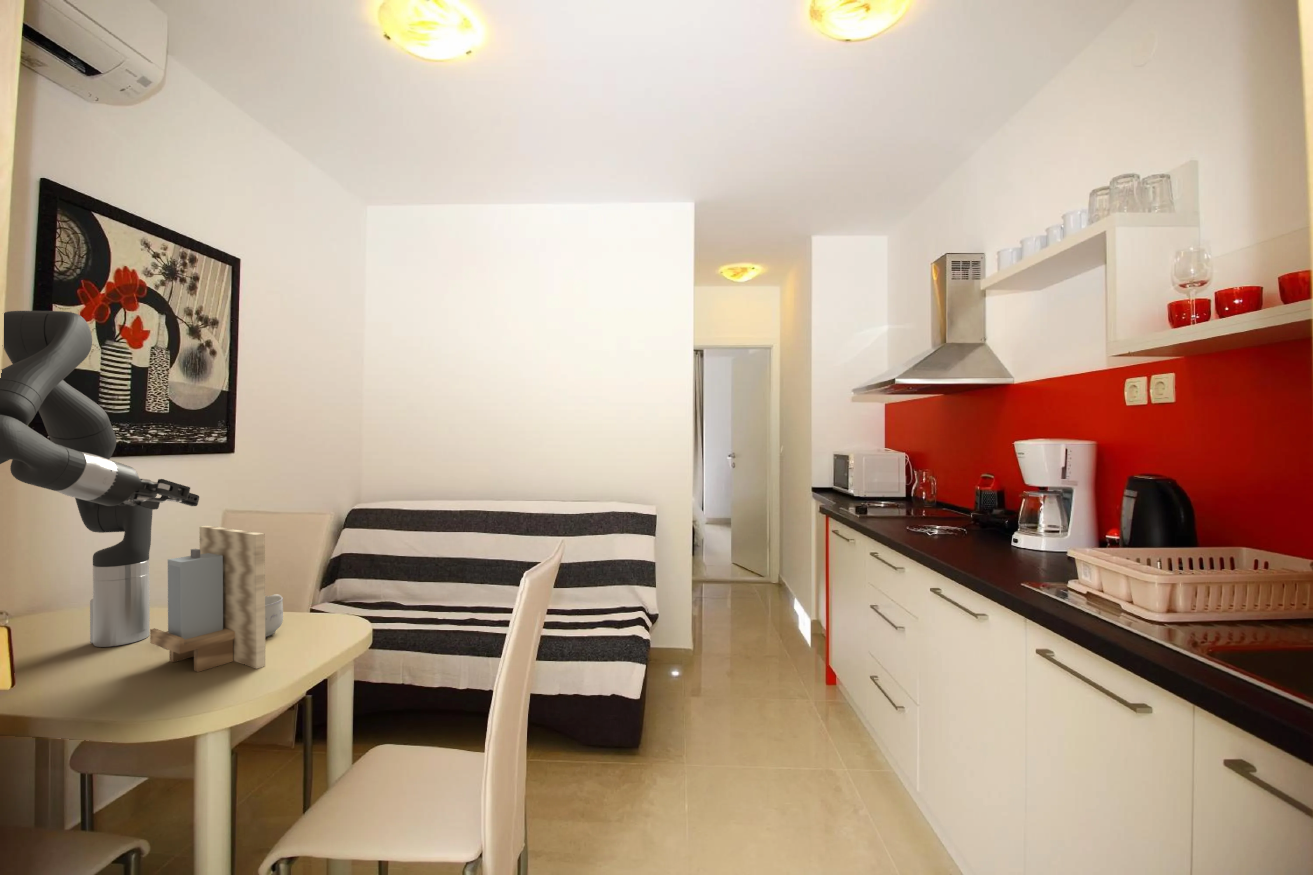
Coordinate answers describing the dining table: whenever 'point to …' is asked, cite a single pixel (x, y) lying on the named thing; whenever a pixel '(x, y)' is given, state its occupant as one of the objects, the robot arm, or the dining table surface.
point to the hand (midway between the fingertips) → (177, 502)
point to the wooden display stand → (229, 604)
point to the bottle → (195, 594)
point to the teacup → (273, 613)
